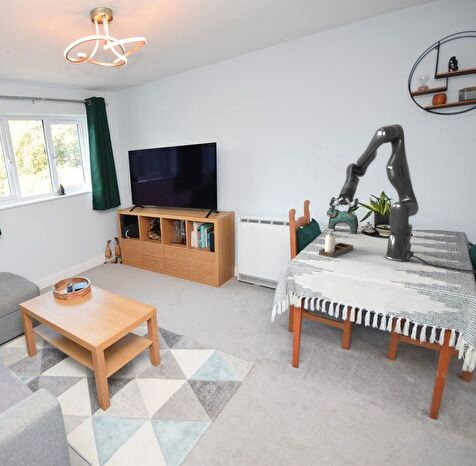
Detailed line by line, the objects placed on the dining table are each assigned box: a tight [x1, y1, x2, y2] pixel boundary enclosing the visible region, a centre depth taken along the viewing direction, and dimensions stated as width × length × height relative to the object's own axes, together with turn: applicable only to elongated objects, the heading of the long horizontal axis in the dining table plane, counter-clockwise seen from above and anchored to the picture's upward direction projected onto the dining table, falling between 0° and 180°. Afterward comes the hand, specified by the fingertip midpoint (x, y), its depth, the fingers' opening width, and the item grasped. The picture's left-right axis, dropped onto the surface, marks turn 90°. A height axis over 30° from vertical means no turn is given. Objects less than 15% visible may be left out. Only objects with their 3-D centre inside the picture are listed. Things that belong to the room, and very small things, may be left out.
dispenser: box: [324, 227, 337, 253], centre depth 188 cm, size 5×5×16 cm
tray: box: [318, 242, 354, 258], centre depth 192 cm, size 8×23×3 cm, turn 118°
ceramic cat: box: [326, 205, 359, 235], centre depth 228 cm, size 20×6×20 cm, turn 37°
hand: (340, 212), depth 190 cm, fingers open, 8 cm apart
